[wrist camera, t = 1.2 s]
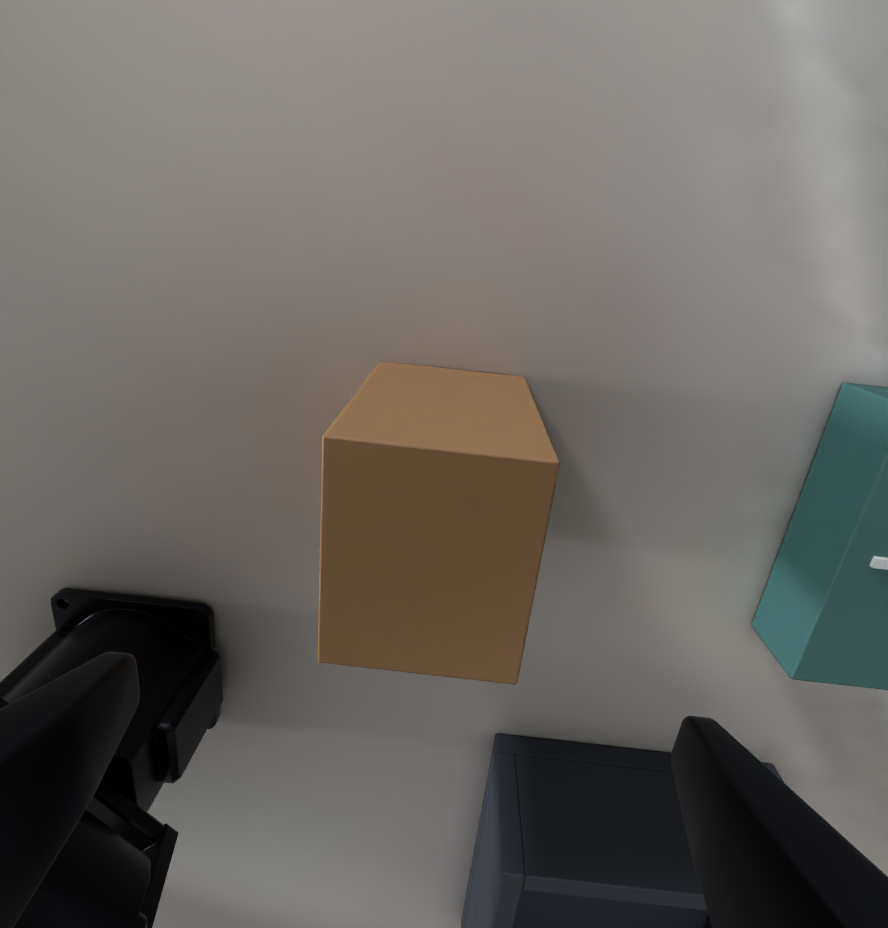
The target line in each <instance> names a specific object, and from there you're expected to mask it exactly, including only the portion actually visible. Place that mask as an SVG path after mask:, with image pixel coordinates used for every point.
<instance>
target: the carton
mask: <svg viewBox="0 0 888 928" xmlns="http://www.w3.org/2000/svg"><path fill="white" fill-rule="evenodd" d="M559 465H560V463H559V460H558V457H557V455H556V453H555V450H554V448H553V445H552V443H551V440H550V438H549V436H548V433H547V431H546V428H545V426H544V423H543V421H542V419H541V416H540V414H539V411H538V409H537V406H536V404H535V401H534V399H533V397H532V394H531V392H530V389H529V387H528V384H527V382H526V380H525V377H520V376H511V375H502V374H493V373H484V372H475V371H466V370H457V369H448V368H439V367H430V366H421V365H412V364H403V363H394V362H385V361H380V362H379V364H378V365H377V366H376V367H375V369H374V370H373V371H372V373H371V374H370V375H369V377H368V378H367V379H366V381H365V382H364V383H363V384H362V386H361V387H360V388H359V390H358V391H357V392H356V394H355V395H354V396H353V397H352V399H351V400H350V401H349V403H348V404H347V405H346V407H345V408H344V409H343V410H342V412H341V413H340V414H339V416H338V417H337V418H336V420H335V421H334V422H333V424H332V425H331V426H330V427H329V429H328V430H327V431H326V433H325V434H324V435H323V437H322V480H321V526H320V572H319V619H318V662H320V663H329V664H338V665H347V666H356V667H365V668H374V669H383V670H392V671H401V672H409V673H418V674H427V675H436V676H445V677H454V678H463V679H472V680H481V681H490V682H498V683H507V684H517V681H518V676H519V671H520V666H521V661H522V656H523V650H524V645H525V640H526V635H527V630H528V625H529V620H530V614H531V609H532V604H533V599H534V594H535V589H536V583H537V578H538V573H539V568H540V563H541V558H542V553H543V547H544V542H545V537H546V532H547V527H548V522H549V516H550V511H551V506H552V501H553V496H554V491H555V486H556V480H557V475H558V470H559Z"/></svg>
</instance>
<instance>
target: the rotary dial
mask: <svg viewBox="0 0 888 928" xmlns="http://www.w3.org/2000/svg"><path fill="white" fill-rule="evenodd" d="M752 627H753V628H754V630H755V631H756V632H757V634H758V635H759V637H760V638H761V639H762V641H763V642H764V643H765V645H766V646H767V647H768V649H769V650H770V651H771V653H772V654H773V656H774V657H775V658H776V660H777V661H778V662H779V664H780V665H781V666H782V668H783V669H784V670H785V672H786V673H787V674H788V676H789V677H790V678H791V679H795V680H804V681H813V682H821V683H830V684H839V685H848V686H857V687H866V688H875V689H884V690H888V387H880V386H870V385H861V384H852V383H843V384H842V386H841V389H840V392H839V394H838V397H837V400H836V402H835V405H834V408H833V410H832V413H831V415H830V418H829V421H828V423H827V426H826V429H825V431H824V434H823V437H822V439H821V442H820V445H819V447H818V450H817V453H816V455H815V458H814V461H813V463H812V466H811V469H810V471H809V474H808V476H807V479H806V482H805V484H804V487H803V490H802V492H801V495H800V498H799V500H798V503H797V506H796V508H795V511H794V514H793V516H792V519H791V522H790V524H789V527H788V530H787V532H786V535H785V537H784V540H783V543H782V545H781V548H780V551H779V553H778V556H777V559H776V561H775V564H774V567H773V569H772V572H771V575H770V577H769V580H768V583H767V585H766V588H765V591H764V593H763V596H762V598H761V601H760V604H759V606H758V609H757V612H756V614H755V617H754V620H753V622H752Z"/></svg>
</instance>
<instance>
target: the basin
mask: <svg viewBox="0 0 888 928" xmlns="http://www.w3.org/2000/svg"><path fill="white" fill-rule="evenodd" d="M671 755H672V754H671V753H662V752H653V751H644V750H635V749H626V748H617V747H608V746H600V745H591V744H582V743H573V742H564V741H555V740H546V739H537V738H529V737H520V736H511V735H502V734H496V736H495V740H494V746H493V751H492V757H491V762H490V768H489V773H488V779H487V784H486V789H485V795H484V800H483V806H482V811H481V817H480V822H479V828H478V833H477V839H476V844H475V849H474V855H473V860H472V866H471V871H470V877H469V882H468V888H467V893H466V898H465V904H464V909H463V915H462V920H461V928H713V926H712V923H711V920H710V917H709V914H708V911H707V908H706V904H705V901H704V898H703V895H702V892H701V889H700V886H699V882H698V879H697V876H696V872H695V869H694V865H693V861H692V857H691V853H690V848H689V843H688V839H687V834H686V830H685V825H684V821H683V816H682V812H681V807H680V803H679V798H678V794H677V789H676V784H675V780H674V775H673V771H672V765H671ZM763 765H765V766H766V767H767V768H768V769H769V770H770V771H771V772H772V773H773V774H775V775H776V776H777V777H778V778H779V779H780V780H781V781H782V782H783V780H782V778H781V777H780V775H779V773H778V772H777V770H776V768H775V766H774V765H768V764H763ZM783 783H784V782H783Z"/></svg>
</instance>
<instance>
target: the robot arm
mask: <svg viewBox="0 0 888 928" xmlns="http://www.w3.org/2000/svg"><path fill="white" fill-rule="evenodd" d="M65 600H66V601H67V602H66V601H65ZM51 606H52V611H53V616H54V622H55V627H56V631H55V632H54V633H53V634H52V635H51V636H49V637H48V638H47V639H46V640H45V641H44V642H43V643H42V644H41V645H40V646H39V647H38V648H37V649H36V650H34V651H33V652H32V653H31V654H30V655H29V656H28V657H27V658H26V659H25V660H24V661H23V662H22V663H20V664H19V665H18V666H17V667H16V668H15V669H14V670H13V671H12V672H11V673H10V674H9V675H8V676H7V677H5V678H4V679H3V680H2V681H1V682H0V928H152V926H153V922H154V919H155V915H156V911H157V908H158V904H159V901H160V897H161V894H162V890H163V886H164V883H165V879H166V876H167V872H168V869H169V865H170V861H171V858H172V854H173V851H174V847H175V843H176V840H177V836H178V832H177V831H175V830H174V829H173V828H172V827H170V826H169V825H168V824H167V823H166V824H164V825H163V824H161V823H160V822H159V821H158V820H156V819H155V818H154V817H153V816H151V815H150V814H149V813H147V812H148V810H149V808H150V807H151V805H152V803H153V801H154V799H155V798H156V796H157V794H158V792H159V791H160V789H161V787H162V785H163V784H164V782H165V783H174V782H176V781H177V780H178V779H179V778H181V776H182V774H183V772H184V771H185V769H186V767H187V765H188V763H189V761H190V759H191V758H192V756H193V754H194V752H195V750H196V748H197V747H198V745H199V743H200V741H201V739H202V737H203V736H204V734H205V732H206V730H207V729H210V728H213V727H214V726H215V724H216V723H217V721H218V719H219V715H220V712H219V706H220V704H221V702H222V700H223V692H222V676H221V659H220V655H219V654H218V652H217V651H216V650H215V634H214V618H213V612H212V610H211V608H210V607H209V606H207V605H206V604H202V603H196V602H187V601H178V600H169V599H160V598H151V597H142V596H134V595H125V594H116V593H107V592H98V591H89V590H80V589H71V588H63V589H61V590H59V591H58V592H57V593H56V594H55V595H53V597H52V598H51ZM196 614H198V615H200V616H201V617H202V618H200V617H198V616H197V615H196ZM671 765H672V771H673V775H674V780H675V784H676V789H677V794H678V798H679V803H680V807H681V812H682V816H683V821H684V825H685V830H686V834H687V839H688V843H689V848H690V853H691V857H692V861H693V865H694V869H695V872H696V876H697V879H698V882H699V886H700V889H701V892H702V895H703V898H704V901H705V904H706V908H707V911H708V914H709V917H710V920H711V923H712V926H713V928H888V877H887V876H886V875H885V874H884V873H883V872H882V871H881V870H880V869H878V868H877V867H876V866H875V865H874V864H873V863H872V862H871V861H870V860H868V859H867V858H866V857H865V856H864V855H863V854H862V853H861V852H860V851H859V850H857V849H856V848H855V847H854V846H853V845H852V844H851V843H850V842H849V841H847V840H846V839H845V838H844V837H843V836H842V835H841V834H840V833H839V832H838V831H836V830H835V829H834V828H833V827H832V826H831V825H830V824H829V823H828V822H826V821H825V820H824V819H823V818H822V817H821V816H820V815H819V814H818V813H817V812H815V811H814V810H813V809H812V808H811V807H810V806H809V805H808V804H807V803H805V802H804V801H803V800H802V799H801V798H800V797H799V796H798V795H797V794H796V793H794V792H793V791H792V790H791V789H790V788H789V787H788V786H787V785H786V784H784V783H783V782H782V781H781V780H780V779H779V778H778V777H777V776H776V775H775V774H773V773H772V772H771V771H770V770H769V769H768V768H767V767H766V766H765V765H763V764H762V763H761V762H760V761H759V760H758V759H757V758H756V757H755V756H754V755H752V754H751V753H750V752H749V751H748V750H747V749H746V748H745V747H744V746H742V745H741V744H740V743H739V742H738V741H737V740H736V739H735V738H734V737H733V736H731V735H730V734H729V733H728V732H727V731H726V730H725V729H724V728H723V727H721V726H720V725H719V724H718V723H717V722H716V721H714V720H713V719H711V718H706V717H697V716H687V717H685V718H684V719H683V721H682V724H681V727H680V730H679V732H678V735H677V738H676V741H675V744H674V747H673V750H672V755H671Z"/></svg>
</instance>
